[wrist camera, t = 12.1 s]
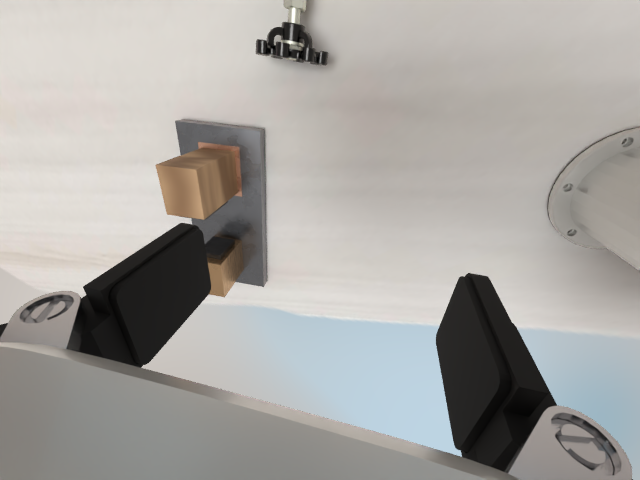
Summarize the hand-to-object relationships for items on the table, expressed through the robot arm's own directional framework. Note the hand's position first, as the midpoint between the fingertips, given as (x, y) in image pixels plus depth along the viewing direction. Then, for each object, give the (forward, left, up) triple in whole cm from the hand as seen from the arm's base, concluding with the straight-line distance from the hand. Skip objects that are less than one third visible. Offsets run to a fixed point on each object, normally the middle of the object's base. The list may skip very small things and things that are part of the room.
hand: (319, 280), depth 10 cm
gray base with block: (+16, +10, -24) cm, 31 cm away
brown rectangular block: (+16, +4, -23) cm, 28 cm away
